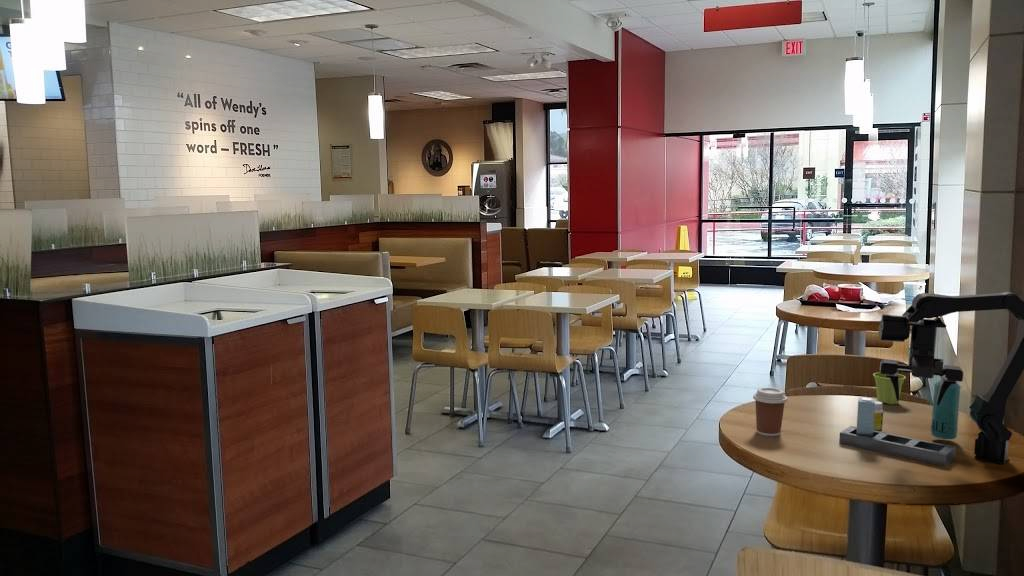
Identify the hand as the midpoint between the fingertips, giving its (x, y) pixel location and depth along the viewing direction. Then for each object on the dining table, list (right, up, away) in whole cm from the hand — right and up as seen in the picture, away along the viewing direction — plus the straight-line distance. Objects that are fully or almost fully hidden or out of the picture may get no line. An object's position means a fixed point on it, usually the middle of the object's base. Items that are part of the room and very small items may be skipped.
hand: (917, 402), depth 210 cm
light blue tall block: (-10, -12, +8) cm, 18 cm away
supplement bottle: (-3, -11, +19) cm, 22 cm away
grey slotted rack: (-4, -13, +3) cm, 14 cm away
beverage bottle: (+12, -12, +11) cm, 20 cm away
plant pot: (+15, -7, +50) cm, 52 cm away
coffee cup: (-33, -11, +18) cm, 39 cm away
